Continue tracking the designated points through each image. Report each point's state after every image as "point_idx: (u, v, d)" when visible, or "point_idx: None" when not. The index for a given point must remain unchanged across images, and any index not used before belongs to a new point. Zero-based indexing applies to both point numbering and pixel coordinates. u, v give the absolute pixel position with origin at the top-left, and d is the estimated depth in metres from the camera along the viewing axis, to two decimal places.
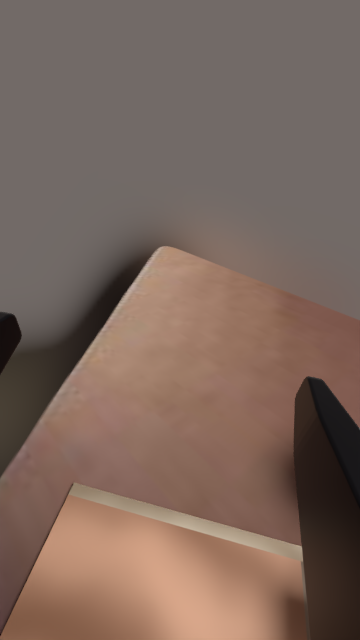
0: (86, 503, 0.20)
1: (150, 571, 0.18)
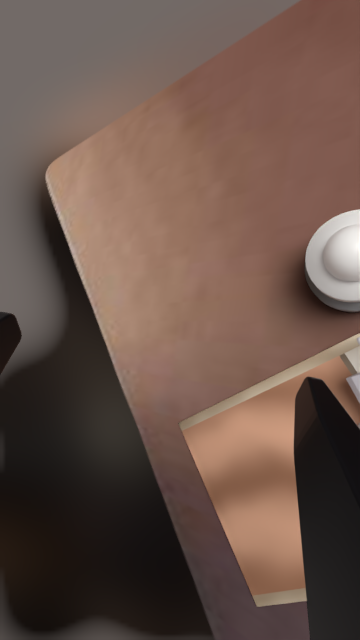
0: (194, 427, 0.28)
1: (254, 432, 0.25)
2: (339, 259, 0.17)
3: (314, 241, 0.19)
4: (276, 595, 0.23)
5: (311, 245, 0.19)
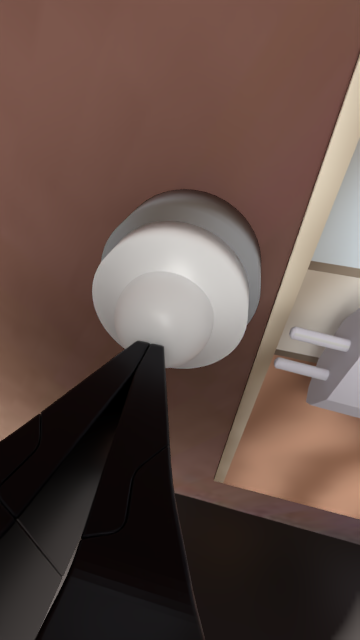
0: (228, 474, 0.24)
1: (276, 452, 0.21)
2: None
3: (112, 330, 0.11)
4: None
5: (115, 335, 0.12)
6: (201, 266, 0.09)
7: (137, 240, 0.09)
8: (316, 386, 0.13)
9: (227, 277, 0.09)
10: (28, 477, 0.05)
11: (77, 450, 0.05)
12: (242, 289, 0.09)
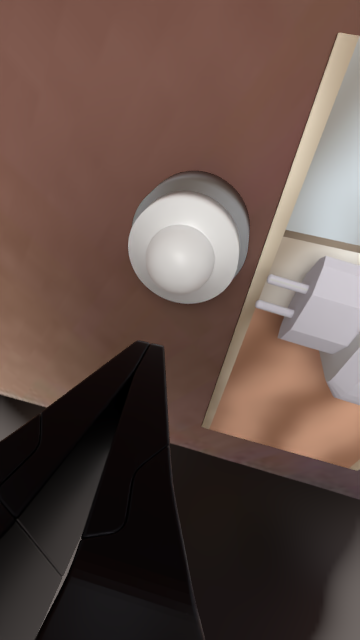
0: (214, 421, 0.29)
1: (254, 396, 0.25)
2: (174, 291, 0.14)
3: (139, 270, 0.16)
4: None
5: (141, 275, 0.16)
6: (209, 221, 0.13)
7: (167, 200, 0.13)
8: (285, 324, 0.17)
9: (226, 230, 0.13)
10: (28, 477, 0.05)
11: (77, 450, 0.05)
12: (235, 239, 0.14)
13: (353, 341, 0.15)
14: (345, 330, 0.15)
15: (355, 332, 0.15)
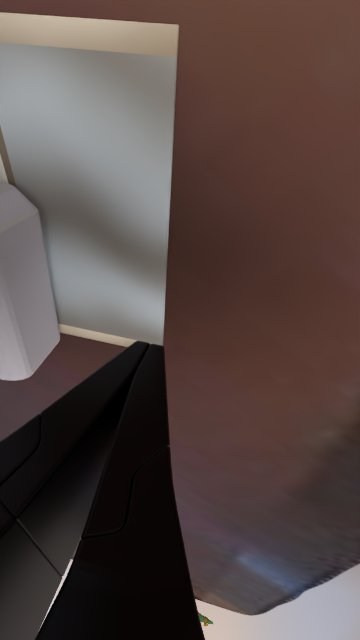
0: None
1: None
2: None
3: None
4: None
5: None
6: None
7: None
8: None
9: None
10: (28, 477, 0.05)
11: (77, 450, 0.05)
12: None
13: None
14: None
15: None
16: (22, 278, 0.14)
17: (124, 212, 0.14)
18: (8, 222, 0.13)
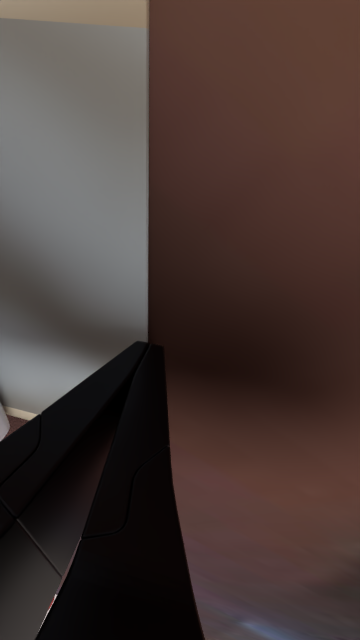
0: None
1: None
2: None
3: None
4: None
5: None
6: None
7: None
8: None
9: None
10: (28, 477, 0.05)
11: (77, 450, 0.05)
12: None
13: None
14: None
15: None
16: None
17: (78, 286, 0.09)
18: None
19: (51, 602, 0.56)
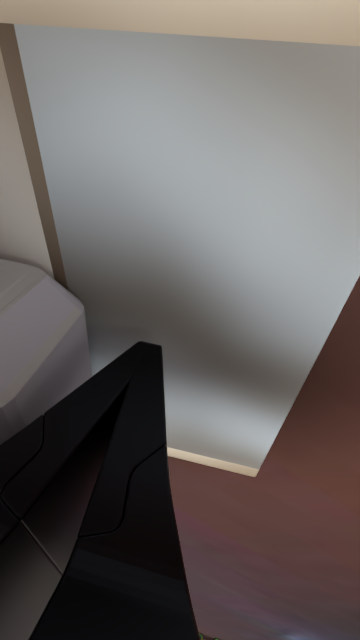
0: None
1: None
2: None
3: None
4: None
5: None
6: None
7: None
8: None
9: None
10: (31, 478, 0.05)
11: (80, 451, 0.05)
12: None
13: None
14: None
15: None
16: None
17: (250, 318, 0.08)
18: (40, 352, 0.07)
19: None
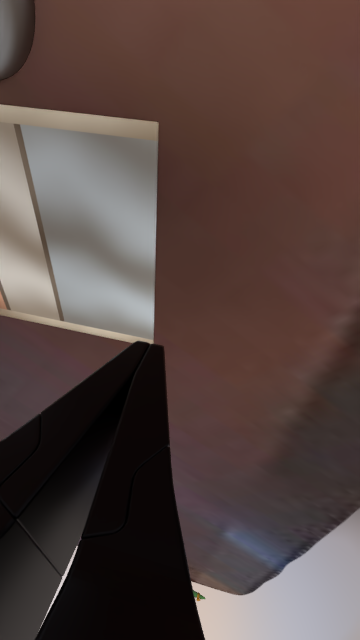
0: None
1: None
2: None
3: None
4: None
5: None
6: None
7: None
8: None
9: None
10: (28, 477, 0.05)
11: (77, 450, 0.05)
12: None
13: None
14: None
15: None
16: None
17: (122, 239, 0.19)
18: None
19: None
